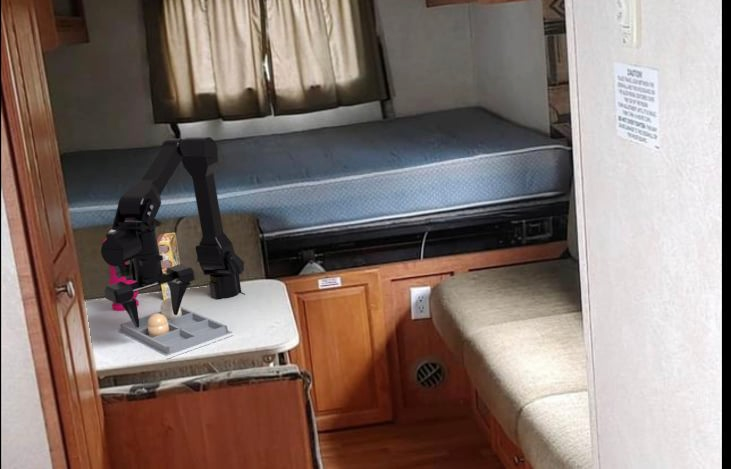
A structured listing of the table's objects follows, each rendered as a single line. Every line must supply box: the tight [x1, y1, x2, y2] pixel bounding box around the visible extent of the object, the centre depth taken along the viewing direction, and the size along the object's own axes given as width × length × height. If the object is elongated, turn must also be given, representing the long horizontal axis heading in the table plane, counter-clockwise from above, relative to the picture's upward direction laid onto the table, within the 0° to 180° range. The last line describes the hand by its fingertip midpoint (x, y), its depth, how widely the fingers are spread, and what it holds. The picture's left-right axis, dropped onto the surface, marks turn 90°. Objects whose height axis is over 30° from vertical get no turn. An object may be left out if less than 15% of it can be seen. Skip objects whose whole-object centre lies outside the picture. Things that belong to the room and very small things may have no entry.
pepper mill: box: [102, 229, 140, 312], centre depth 227 cm, size 7×7×20 cm
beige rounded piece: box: [147, 312, 169, 338], centre depth 206 cm, size 4×4×5 cm
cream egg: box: [160, 298, 182, 320], centre depth 216 cm, size 4×4×5 cm
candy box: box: [157, 232, 181, 301], centre depth 233 cm, size 9×4×15 cm, turn 2°
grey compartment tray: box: [117, 306, 234, 360], centre depth 209 cm, size 16×23×2 cm
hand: (156, 320), depth 206 cm, fingers open, 9 cm apart
